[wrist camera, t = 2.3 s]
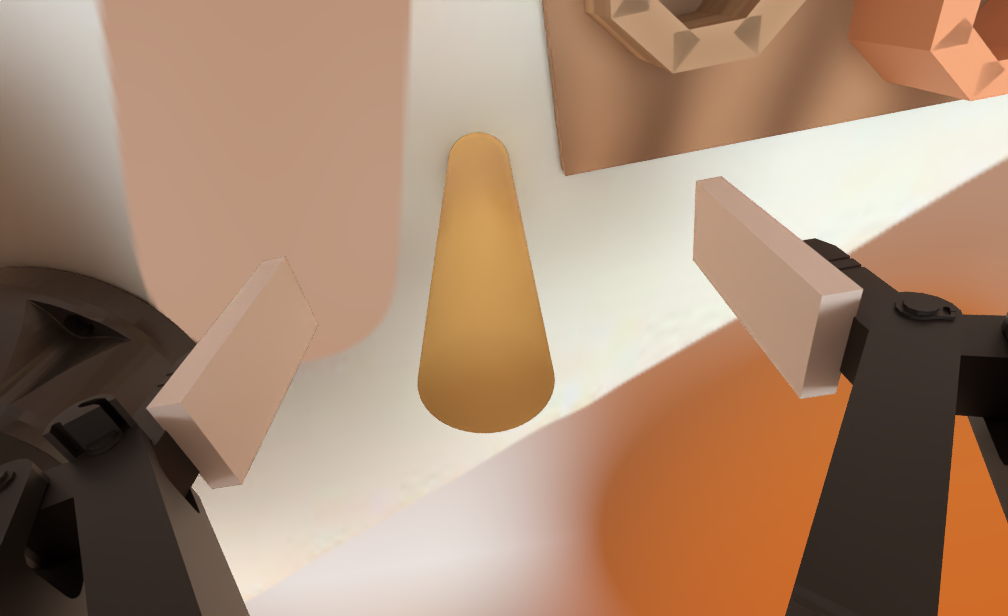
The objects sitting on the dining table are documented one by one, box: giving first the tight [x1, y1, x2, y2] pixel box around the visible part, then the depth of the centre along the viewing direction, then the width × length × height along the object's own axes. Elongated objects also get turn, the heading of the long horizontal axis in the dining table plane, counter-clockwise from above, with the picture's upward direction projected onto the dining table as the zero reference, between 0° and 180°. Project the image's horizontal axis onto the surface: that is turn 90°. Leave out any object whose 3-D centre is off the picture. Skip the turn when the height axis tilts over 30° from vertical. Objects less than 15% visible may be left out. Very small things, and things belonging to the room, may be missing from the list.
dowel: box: [418, 133, 555, 433], centre depth 17 cm, size 3×3×16 cm
